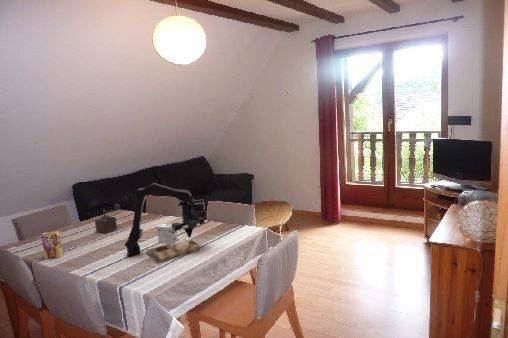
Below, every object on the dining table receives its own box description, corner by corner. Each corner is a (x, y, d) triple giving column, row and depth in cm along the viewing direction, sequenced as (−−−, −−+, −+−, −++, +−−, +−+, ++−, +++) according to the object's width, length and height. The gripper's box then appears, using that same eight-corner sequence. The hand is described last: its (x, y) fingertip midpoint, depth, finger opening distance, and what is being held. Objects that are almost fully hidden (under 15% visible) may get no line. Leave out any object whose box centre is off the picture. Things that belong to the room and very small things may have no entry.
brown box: (106, 234, 250) (103, 209, 247) (95, 232, 255) (92, 208, 252) (123, 227, 263) (120, 203, 260) (113, 225, 269) (110, 202, 266)
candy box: (63, 254, 216) (59, 230, 214) (60, 257, 212) (56, 233, 210) (48, 256, 216) (44, 232, 213) (44, 259, 211) (40, 234, 209)
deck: (158, 263, 195) (157, 257, 194) (146, 253, 210) (145, 247, 210) (199, 250, 209) (198, 245, 208) (185, 242, 224) (185, 236, 224)
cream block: (179, 251, 204) (178, 244, 204) (175, 248, 209) (174, 242, 209) (189, 248, 208) (188, 242, 207) (185, 245, 213) (184, 239, 212)
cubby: (180, 252, 203) (179, 249, 202) (173, 247, 211) (173, 244, 210) (198, 247, 209) (198, 244, 209) (191, 242, 217) (190, 239, 217)
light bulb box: (178, 239, 230) (176, 223, 228) (173, 243, 224) (171, 226, 222) (163, 238, 233) (161, 223, 231) (158, 242, 227) (156, 226, 225)
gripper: (177, 218, 196) (180, 245, 199) (207, 211, 207) (210, 237, 209) (169, 214, 205) (172, 240, 208) (199, 207, 216) (201, 232, 218)
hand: (189, 237), depth 211 cm, fingers closed
